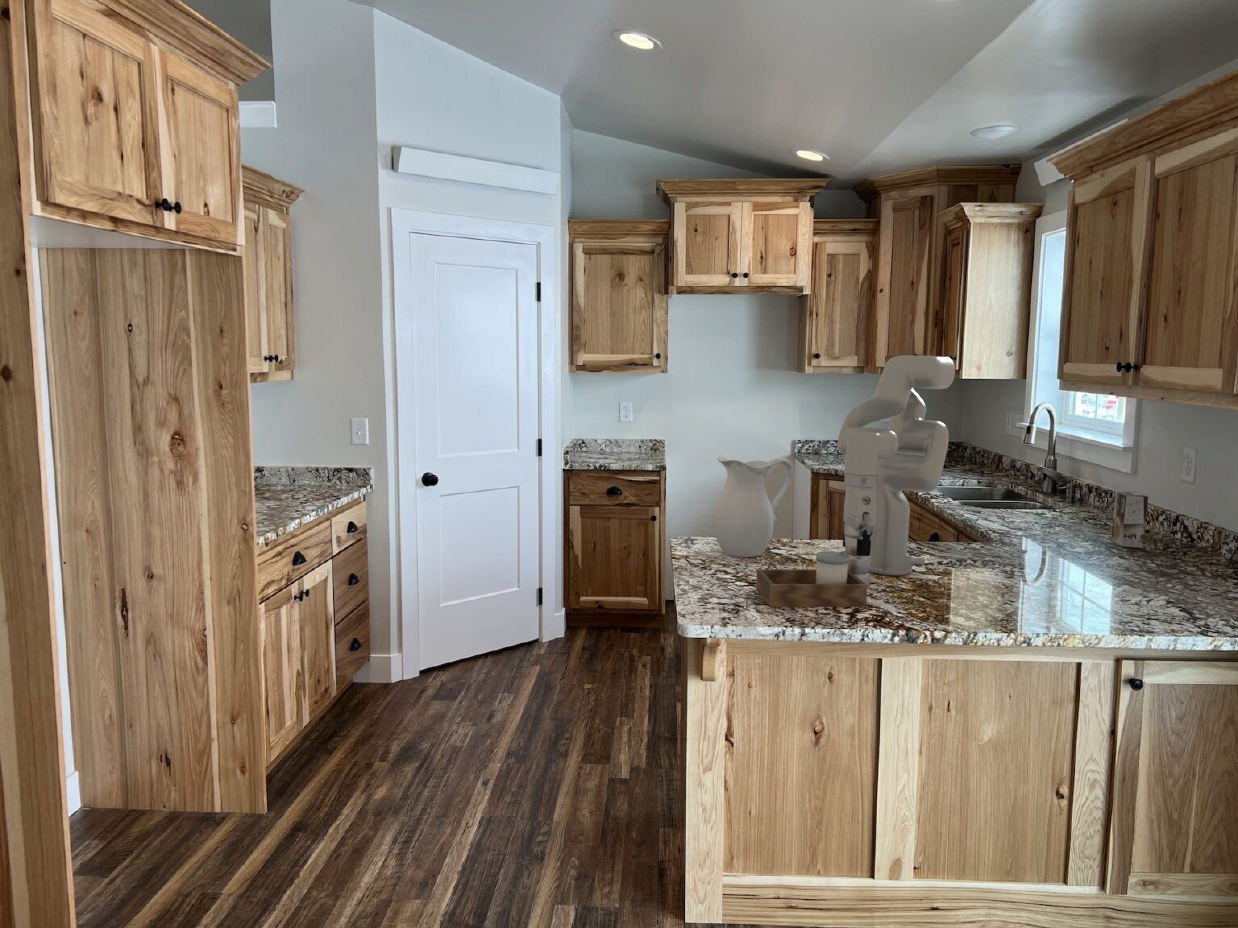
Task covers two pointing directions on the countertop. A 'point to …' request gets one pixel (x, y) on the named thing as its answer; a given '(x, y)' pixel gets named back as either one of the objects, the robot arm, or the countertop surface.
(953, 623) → the countertop surface
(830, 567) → the jar
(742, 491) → the pitcher
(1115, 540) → the coffee box
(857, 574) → the grey metal bottle
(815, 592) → the crate
